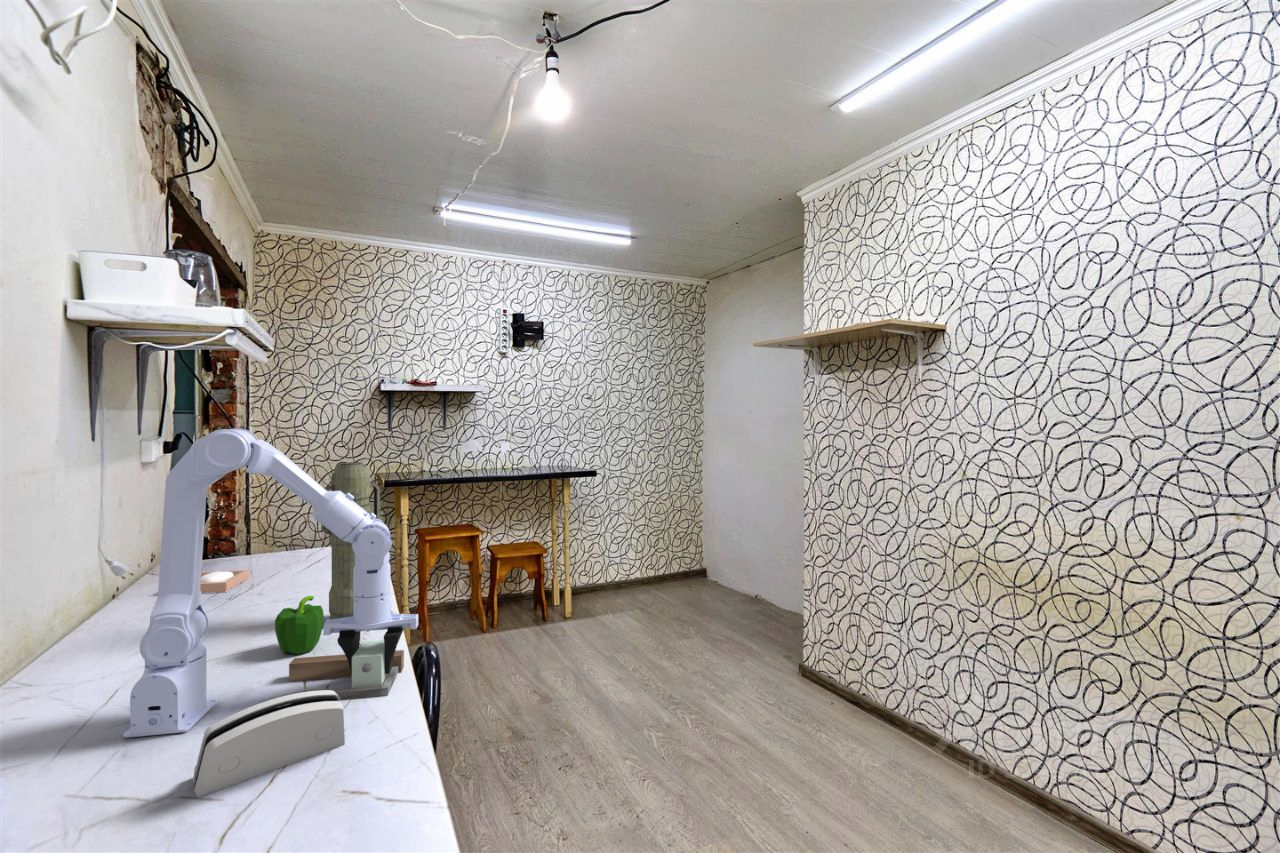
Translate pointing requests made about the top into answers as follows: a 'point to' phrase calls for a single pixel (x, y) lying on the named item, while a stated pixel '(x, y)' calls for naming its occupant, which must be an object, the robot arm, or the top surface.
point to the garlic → (216, 577)
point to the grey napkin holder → (268, 738)
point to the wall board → (341, 673)
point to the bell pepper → (299, 627)
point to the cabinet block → (369, 665)
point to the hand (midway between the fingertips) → (372, 672)
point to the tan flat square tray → (226, 585)
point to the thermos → (343, 557)
